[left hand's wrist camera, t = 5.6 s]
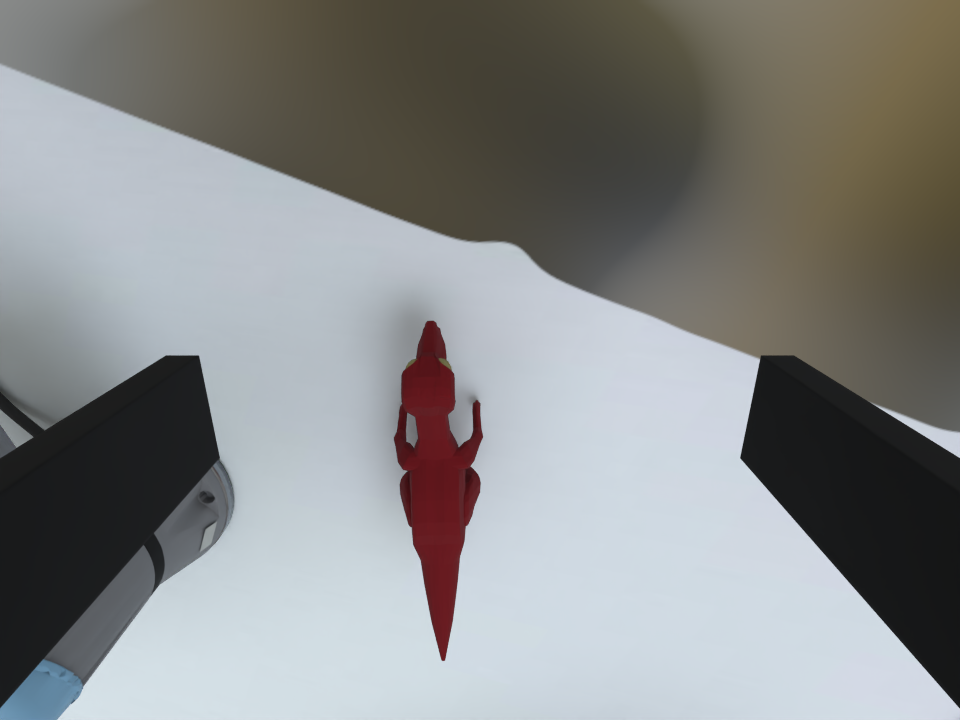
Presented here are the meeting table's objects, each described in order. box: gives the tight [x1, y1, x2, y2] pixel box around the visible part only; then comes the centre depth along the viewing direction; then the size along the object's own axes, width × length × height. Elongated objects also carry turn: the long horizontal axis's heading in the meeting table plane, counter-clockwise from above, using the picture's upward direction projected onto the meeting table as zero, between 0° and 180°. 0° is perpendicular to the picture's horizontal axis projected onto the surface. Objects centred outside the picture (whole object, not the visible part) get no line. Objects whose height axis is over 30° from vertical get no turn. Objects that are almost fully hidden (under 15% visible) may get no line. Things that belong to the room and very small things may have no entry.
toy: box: [394, 321, 483, 661], centre depth 41 cm, size 7×25×15 cm
